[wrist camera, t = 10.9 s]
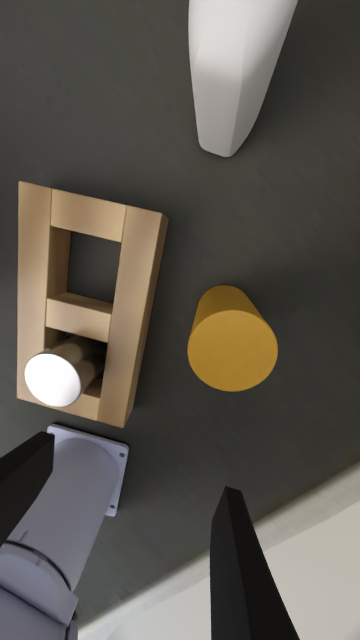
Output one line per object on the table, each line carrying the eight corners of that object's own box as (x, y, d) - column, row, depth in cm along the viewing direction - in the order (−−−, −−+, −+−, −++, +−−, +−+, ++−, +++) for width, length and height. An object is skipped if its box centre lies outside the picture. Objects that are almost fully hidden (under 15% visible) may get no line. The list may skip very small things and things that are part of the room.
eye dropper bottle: (172, 114, 15) (39, -350, 3) (246, 27, 13) (474, -1413, 2) (218, 171, 15) (236, -55, 4) (294, 95, 14) (698, -661, 2)
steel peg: (109, 376, 21) (78, 414, 16) (65, 364, 21) (23, 398, 16) (115, 334, 20) (84, 362, 15) (69, 323, 20) (24, 346, 15)
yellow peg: (242, 342, 18) (261, 401, 11) (191, 329, 19) (179, 379, 11) (258, 292, 17) (291, 322, 10) (204, 279, 17) (199, 299, 10)
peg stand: (169, 218, 16) (162, 212, 14) (132, 408, 21) (123, 428, 19) (45, 189, 17) (18, 180, 15) (37, 382, 22) (16, 398, 20)
